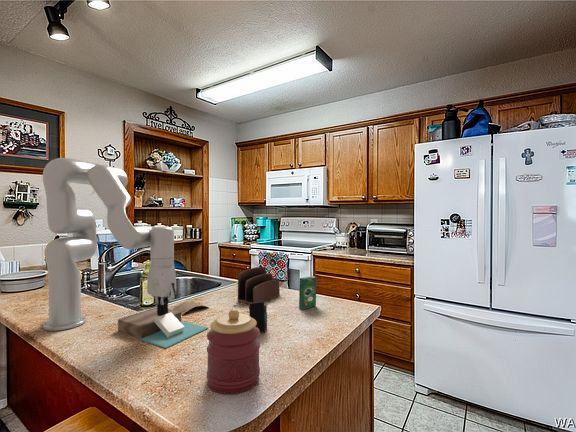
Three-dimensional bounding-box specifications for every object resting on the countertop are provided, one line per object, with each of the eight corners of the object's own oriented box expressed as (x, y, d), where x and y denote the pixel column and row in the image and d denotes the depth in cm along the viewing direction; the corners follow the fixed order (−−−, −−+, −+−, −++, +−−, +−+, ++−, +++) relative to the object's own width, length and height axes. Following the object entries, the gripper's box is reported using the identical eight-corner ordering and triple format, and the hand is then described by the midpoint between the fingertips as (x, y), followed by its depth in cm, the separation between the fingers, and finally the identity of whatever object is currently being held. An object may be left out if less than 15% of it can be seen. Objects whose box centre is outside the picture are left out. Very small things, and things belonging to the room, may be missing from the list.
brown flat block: (118, 330, 106) (117, 319, 106) (157, 316, 120) (157, 306, 120) (142, 338, 100) (142, 326, 99) (181, 322, 114) (181, 312, 113)
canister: (195, 388, 72) (195, 314, 72) (225, 362, 85) (225, 299, 84) (243, 401, 68) (244, 322, 67) (268, 372, 80) (268, 304, 80)
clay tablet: (181, 317, 121) (181, 310, 121) (168, 312, 127) (168, 305, 127) (211, 308, 132) (211, 302, 132) (198, 304, 138) (198, 298, 138)
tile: (154, 322, 103) (155, 317, 103) (169, 316, 109) (171, 312, 108) (167, 337, 100) (169, 332, 99) (182, 331, 105) (184, 326, 104)
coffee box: (312, 304, 136) (312, 275, 136) (316, 306, 134) (317, 276, 134) (298, 308, 131) (298, 277, 131) (303, 310, 129) (303, 279, 129)
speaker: (266, 334, 103) (265, 302, 104) (249, 334, 103) (248, 303, 104) (268, 327, 111) (267, 298, 112) (252, 328, 111) (251, 299, 112)
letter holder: (237, 301, 141) (237, 271, 140) (264, 292, 157) (264, 264, 157) (253, 305, 135) (253, 273, 135) (279, 295, 151) (280, 267, 151)
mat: (140, 340, 98) (140, 339, 98) (184, 322, 114) (184, 321, 114) (165, 348, 93) (165, 347, 93) (208, 328, 108) (208, 327, 108)
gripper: (138, 262, 106) (139, 314, 107) (168, 266, 99) (168, 322, 100) (157, 259, 113) (157, 308, 113) (186, 262, 106) (186, 315, 106)
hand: (162, 314), depth 107 cm, fingers closed
